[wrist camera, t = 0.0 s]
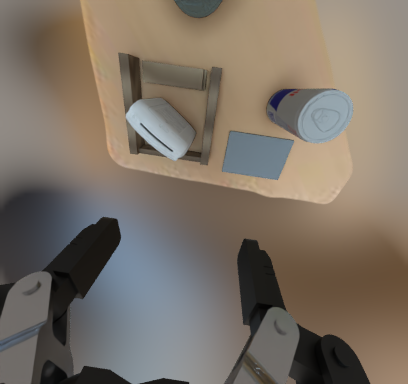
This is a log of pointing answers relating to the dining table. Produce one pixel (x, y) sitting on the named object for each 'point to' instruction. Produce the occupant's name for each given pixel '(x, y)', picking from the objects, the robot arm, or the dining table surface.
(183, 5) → the teal cup
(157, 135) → the rounded white slotted gadget
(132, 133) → the wooden tray
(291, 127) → the beverage can
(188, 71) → the block
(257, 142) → the mat
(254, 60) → the dining table surface
